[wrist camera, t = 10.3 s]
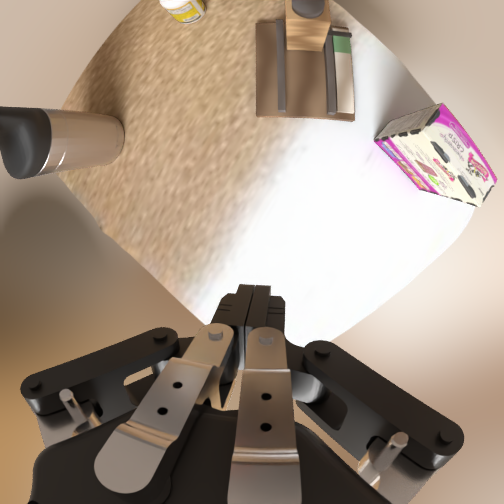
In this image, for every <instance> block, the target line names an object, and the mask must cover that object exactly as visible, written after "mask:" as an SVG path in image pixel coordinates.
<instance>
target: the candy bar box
mask: <svg viewBox="0 0 504 504" xmlns="http://www.w3.org/2000/svg"><path fill="white" fill-rule="evenodd" d="M374 142H375V143H376V144H377V145H378V146H379V147H380V148H381V149H382V150H383V151H384V152H385V153H386V154H387V155H388V156H389V157H390V158H391V159H392V160H393V161H394V162H395V163H396V164H397V165H398V166H399V167H400V168H401V169H402V170H403V172H404V173H405V174H406V175H407V176H408V177H409V178H410V179H411V180H412V182H413V183H414V184H415V185H416V186H417V187H418V189H419V190H423V191H426V192H430V193H434V194H437V195H440V196H445V197H448V198H451V199H454V200H458V201H461V202H464V203H467V204H470V205H473V206H476V207H481V205H482V204H483V202H484V200H485V199H486V197H487V195H488V194H489V192H490V191H491V188H492V187H494V185H495V183H496V181H497V178H496V176H495V174H494V172H493V171H492V169H491V168H490V166H489V164H488V163H487V161H486V160H485V158H484V157H483V155H482V154H481V152H480V150H479V149H478V148H477V146H476V145H475V143H474V142H473V140H472V139H471V138H470V136H469V135H468V134H467V132H466V131H465V129H464V128H463V127H462V125H461V124H460V123H459V122H458V120H457V119H456V118H455V117H454V115H453V114H452V113H451V112H450V111H449V109H448V108H447V107H446V106H445V105H444V104H443V103H441V104H437V105H435V106H431V107H429V108H426V109H423V110H420V111H417V112H415V113H411V114H408V115H406V116H403V117H400V118H397V119H395V120H392V121H390V122H389V123H388V124H387V125H386V127H385V128H384V129H383V130H382V132H381V133H380V134H379V135H378V136H377V137H376V138H375V139H374Z"/></svg>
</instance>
